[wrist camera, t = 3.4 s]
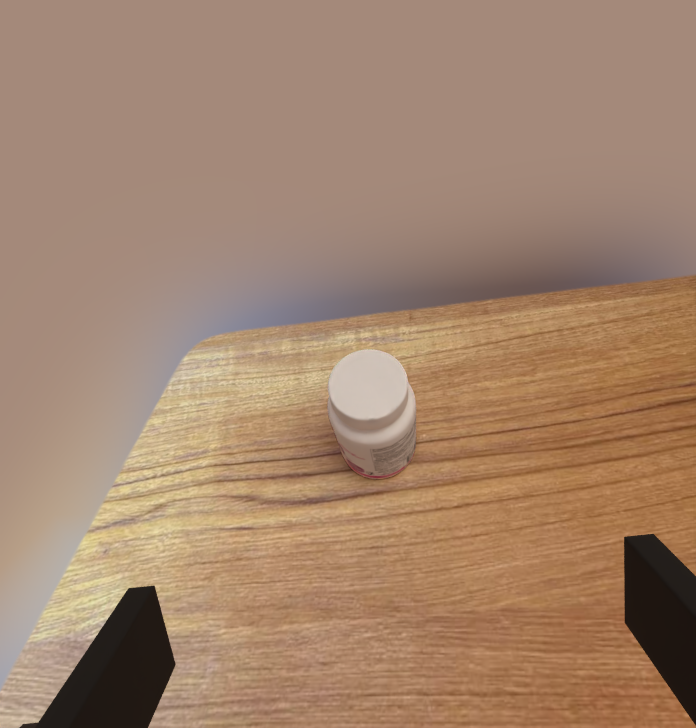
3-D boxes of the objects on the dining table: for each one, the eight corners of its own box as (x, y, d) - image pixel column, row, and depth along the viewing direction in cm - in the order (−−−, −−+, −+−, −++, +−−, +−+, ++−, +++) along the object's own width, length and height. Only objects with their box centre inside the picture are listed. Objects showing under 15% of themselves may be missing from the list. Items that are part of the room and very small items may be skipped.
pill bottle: (327, 434, 32) (302, 370, 25) (389, 398, 33) (382, 326, 26) (365, 496, 30) (349, 444, 23) (430, 455, 31) (435, 394, 23)
